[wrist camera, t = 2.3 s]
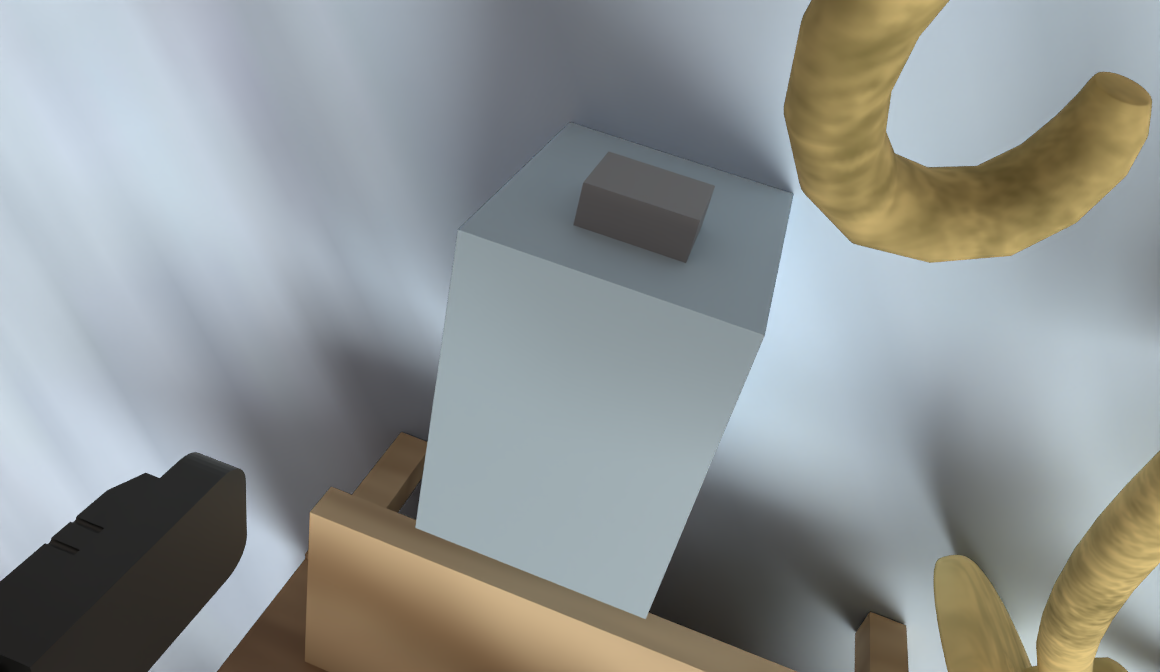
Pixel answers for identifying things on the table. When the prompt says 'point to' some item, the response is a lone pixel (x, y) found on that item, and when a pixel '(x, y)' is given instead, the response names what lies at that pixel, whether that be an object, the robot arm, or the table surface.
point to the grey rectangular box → (596, 359)
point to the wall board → (467, 605)
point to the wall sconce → (970, 231)
